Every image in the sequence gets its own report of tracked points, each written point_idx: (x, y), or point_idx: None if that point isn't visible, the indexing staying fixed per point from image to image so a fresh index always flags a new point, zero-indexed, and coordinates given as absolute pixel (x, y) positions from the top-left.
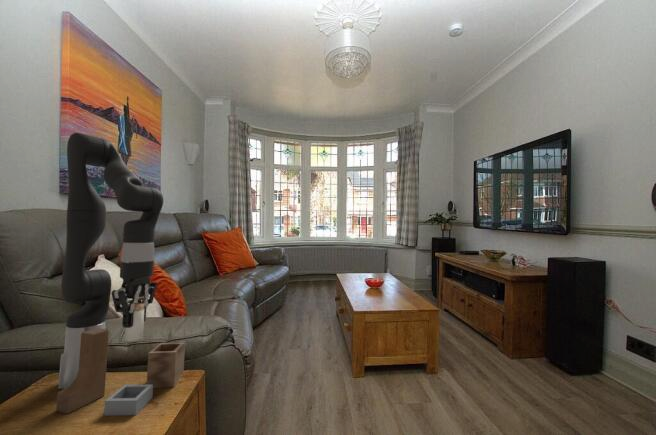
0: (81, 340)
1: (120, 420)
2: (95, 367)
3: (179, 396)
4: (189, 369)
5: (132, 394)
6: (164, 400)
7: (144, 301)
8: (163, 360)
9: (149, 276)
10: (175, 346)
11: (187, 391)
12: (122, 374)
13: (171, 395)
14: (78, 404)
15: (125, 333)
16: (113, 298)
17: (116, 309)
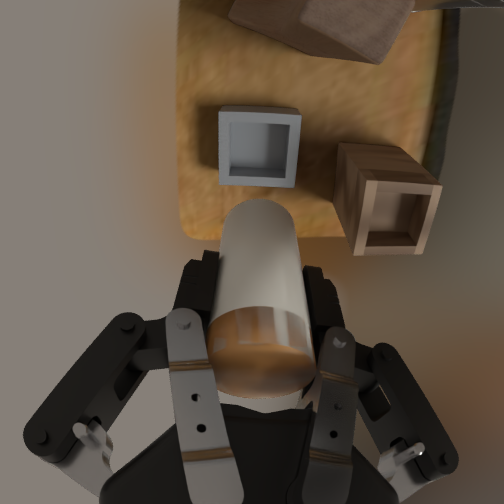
0: None
1: (204, 151)
2: (297, 41)
3: None
4: None
5: (286, 136)
6: None
7: (298, 398)
8: (352, 211)
9: None
10: (417, 228)
11: (307, 235)
12: (422, 56)
13: (295, 210)
14: (252, 29)
15: (229, 227)
16: (51, 398)
17: (106, 333)
